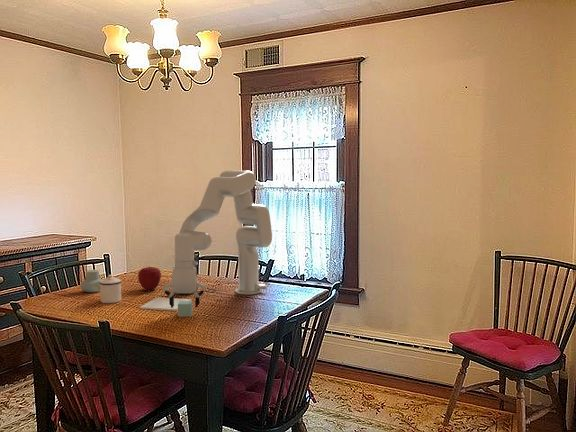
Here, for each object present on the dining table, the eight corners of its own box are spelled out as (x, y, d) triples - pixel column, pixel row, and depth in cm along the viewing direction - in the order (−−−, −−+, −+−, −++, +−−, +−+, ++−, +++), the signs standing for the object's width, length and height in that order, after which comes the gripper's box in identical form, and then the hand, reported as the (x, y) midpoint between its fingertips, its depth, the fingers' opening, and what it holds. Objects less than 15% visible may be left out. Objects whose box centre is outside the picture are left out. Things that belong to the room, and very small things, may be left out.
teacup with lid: (126, 300, 223) (125, 274, 222) (109, 304, 215) (109, 278, 214) (107, 296, 229) (107, 271, 228) (91, 301, 221) (90, 275, 220)
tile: (191, 301, 222) (191, 299, 222) (175, 310, 206) (175, 308, 206) (157, 299, 225) (157, 297, 225) (140, 308, 209) (140, 306, 209)
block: (192, 313, 204) (192, 300, 203) (190, 316, 199) (190, 304, 198) (180, 313, 203) (179, 301, 203) (178, 316, 198) (177, 304, 198)
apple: (164, 290, 242) (164, 266, 240) (142, 293, 236) (142, 268, 235) (156, 286, 251) (156, 263, 250) (135, 288, 245) (134, 265, 244)
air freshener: (89, 294, 233) (88, 273, 232) (77, 292, 237) (76, 271, 236) (108, 290, 242) (107, 269, 241) (96, 288, 246) (95, 267, 245)
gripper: (207, 262, 203) (207, 304, 205) (164, 262, 202) (164, 304, 204) (205, 266, 196) (205, 309, 197) (160, 266, 195) (160, 309, 196)
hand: (184, 306), depth 200 cm, fingers open, 9 cm apart
